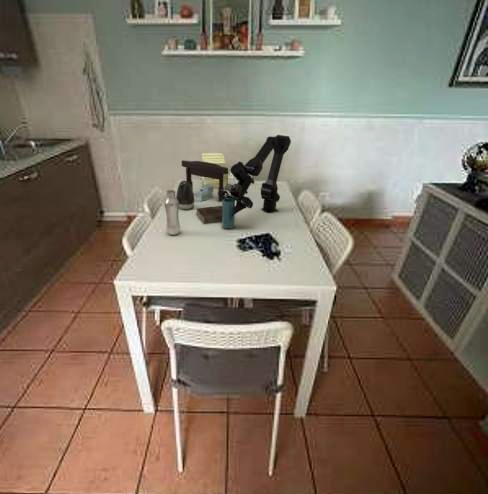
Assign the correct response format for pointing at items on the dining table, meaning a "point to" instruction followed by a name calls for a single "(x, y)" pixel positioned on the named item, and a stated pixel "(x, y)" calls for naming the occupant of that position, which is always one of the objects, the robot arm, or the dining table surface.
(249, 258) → the dining table surface
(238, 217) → the dining table surface
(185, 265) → the dining table surface
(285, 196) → the dining table surface
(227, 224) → the tumbler
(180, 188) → the black rounded dome
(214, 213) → the holder
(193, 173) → the stool
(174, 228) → the plastic bottle
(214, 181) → the pale yellow striped pieces
